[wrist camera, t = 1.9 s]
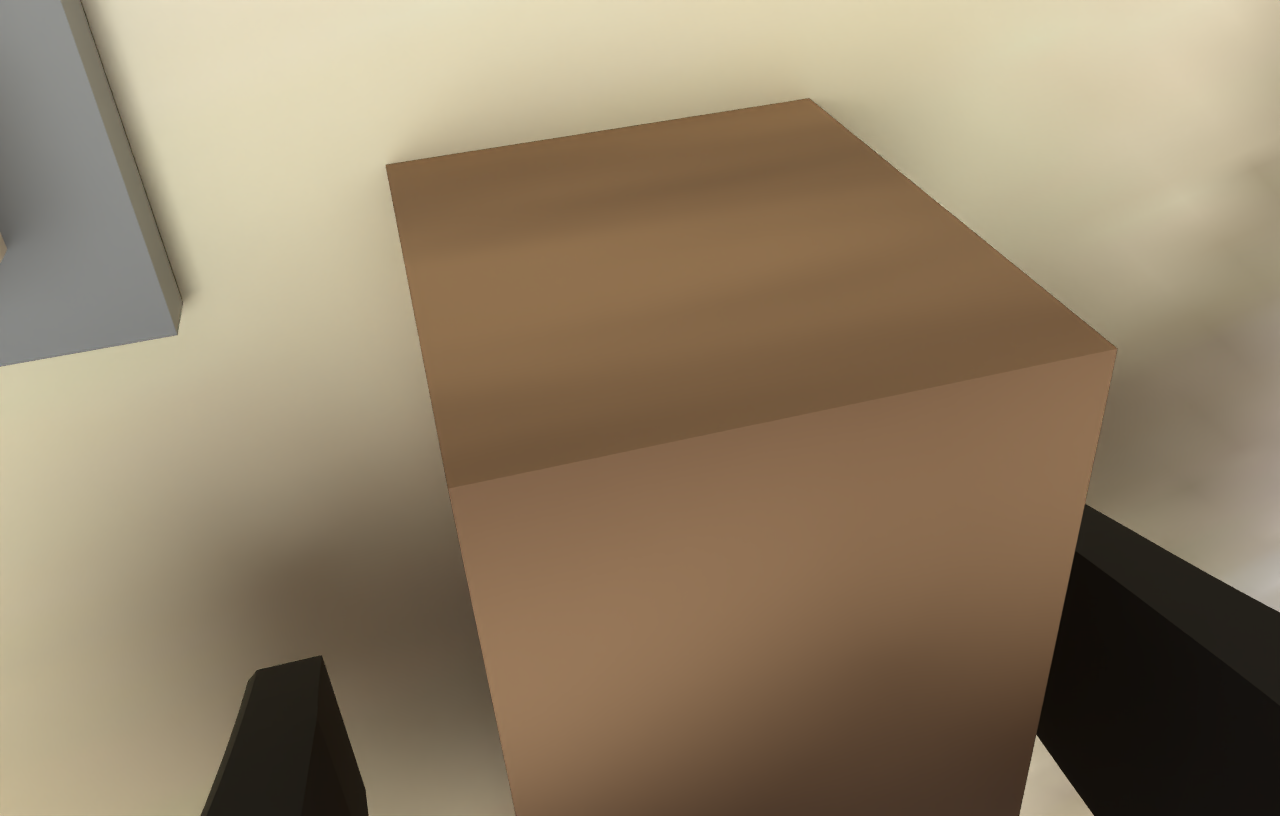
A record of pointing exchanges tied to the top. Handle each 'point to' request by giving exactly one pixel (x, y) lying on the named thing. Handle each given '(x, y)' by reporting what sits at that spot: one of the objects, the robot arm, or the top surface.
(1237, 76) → the top surface
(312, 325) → the top surface
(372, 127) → the top surface
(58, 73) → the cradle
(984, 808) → the wooden block
